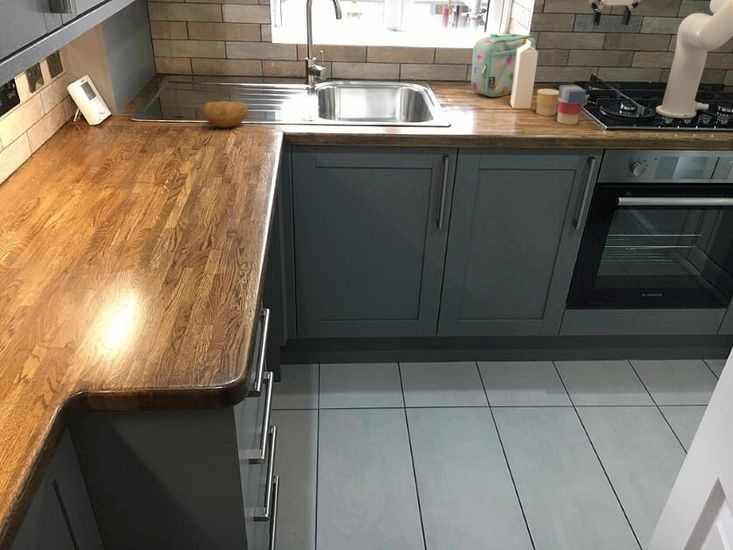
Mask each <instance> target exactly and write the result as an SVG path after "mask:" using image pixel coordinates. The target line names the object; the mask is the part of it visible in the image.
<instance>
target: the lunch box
mask: <svg viewBox="0 0 733 550" xmlns="http://www.w3.org/2000/svg"><path fill="white" fill-rule="evenodd" d="M527 39H528V40H529V41H530V42H531V47H532V48H534V49H535V50H536V51H537V40H536V37H534V36H533V35H532V34H526V35H525V34H518V33H506V34H496V33H495V34H494V33H490V34H489V36H485V37H483V38H480V39H478V40H477V41H476V42H475V43H474V45H473V48H472V55H471V56H472V58H471V74H470V76H471V77H470V79H471V80H470V82H471V89H472V91H473V92H474V93H475V94H478V95H482V96H483V95H484V96H487V97H490V98H497V97H498V98H499V97H502V96H507V95H511V93H512V85H513V77H514V69H515V61H516V53H517V49H518V48H519V47H521V46H523V45H525V44H526V41H527Z"/></svg>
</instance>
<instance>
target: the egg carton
mask: <svg viewBox="0 0 733 550" xmlns="http://www.w3.org/2000/svg"><path fill="white" fill-rule="evenodd" d="M559 98H560V97H559ZM589 98H590V94H586V96H585V101H584V103H582V107H581V109H583V108H584V106H587V105H588V100H589ZM558 105H559V101H558V104H557V105H556V106H558Z"/></svg>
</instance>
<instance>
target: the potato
mask: <svg viewBox="0 0 733 550" xmlns="http://www.w3.org/2000/svg"><path fill="white" fill-rule="evenodd" d="M202 114H203V116H204V118H205V119H206V121H207V122H208V123H210V124H211V125H212V126H215V127H217V128H223V129H228V128H232V127H234V126H237V125H239V124H241V123H242V122H243V121H244V120H245V119H246V118H247V117H248V114H249V108H248V107H247V105H246V104H245V102H240V101H227V100H225V101H224V100H221V101H209V102H207V103H206V104H204V105H203V107H202Z"/></svg>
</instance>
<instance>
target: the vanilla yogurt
mask: <svg viewBox="0 0 733 550" xmlns="http://www.w3.org/2000/svg"><path fill="white" fill-rule="evenodd" d="M536 93H537V94H536V100H535V102H536V109H535V113H536V114H537V115H540V116H546V117H549V116H554V115H556V110H557V106H558V105H557V104H558V101H559V97H558V93H559V89H555V88H554V89H553V88H540V89H537V90H536Z"/></svg>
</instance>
